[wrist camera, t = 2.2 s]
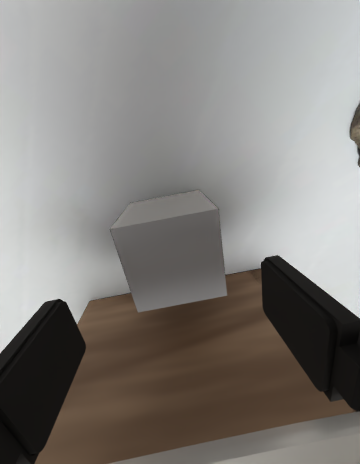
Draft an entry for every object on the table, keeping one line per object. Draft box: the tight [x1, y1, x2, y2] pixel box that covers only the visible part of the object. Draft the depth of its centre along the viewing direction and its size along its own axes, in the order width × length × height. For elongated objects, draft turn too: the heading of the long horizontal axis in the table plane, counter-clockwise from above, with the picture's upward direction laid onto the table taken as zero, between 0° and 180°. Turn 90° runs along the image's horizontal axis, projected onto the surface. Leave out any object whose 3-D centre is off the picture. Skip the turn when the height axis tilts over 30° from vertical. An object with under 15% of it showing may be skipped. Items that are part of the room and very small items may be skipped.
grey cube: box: [110, 190, 227, 312], centre depth 13 cm, size 6×6×6 cm
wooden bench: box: [35, 269, 353, 464], centre depth 15 cm, size 19×17×13 cm
